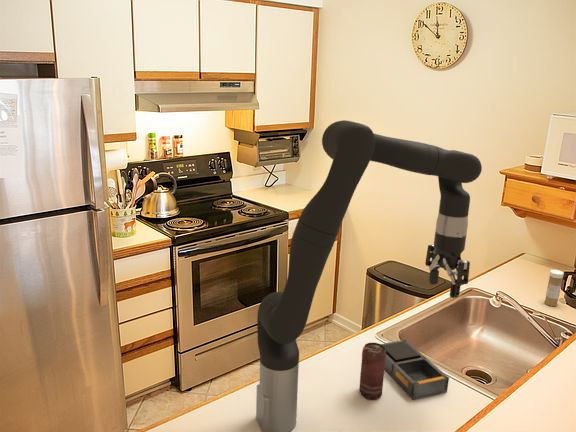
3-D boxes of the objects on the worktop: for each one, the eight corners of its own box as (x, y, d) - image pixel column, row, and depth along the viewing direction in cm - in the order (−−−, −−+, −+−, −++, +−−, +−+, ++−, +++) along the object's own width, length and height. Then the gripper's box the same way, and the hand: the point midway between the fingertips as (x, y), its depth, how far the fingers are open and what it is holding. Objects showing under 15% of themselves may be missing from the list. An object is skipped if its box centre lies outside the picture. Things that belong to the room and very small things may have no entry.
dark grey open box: (412, 400, 135) (414, 383, 133) (372, 358, 153) (373, 343, 152) (447, 392, 138) (449, 376, 137) (404, 352, 157) (405, 338, 156)
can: (354, 389, 138) (357, 343, 134) (374, 385, 141) (378, 340, 137) (365, 402, 133) (369, 355, 129) (386, 398, 135) (390, 351, 131)
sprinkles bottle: (547, 300, 198) (553, 268, 194) (559, 304, 194) (566, 272, 190) (542, 303, 195) (548, 270, 191) (554, 307, 191) (560, 274, 188)
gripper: (421, 224, 133) (415, 281, 137) (457, 241, 120) (448, 303, 124) (445, 221, 135) (438, 278, 140) (482, 238, 123) (473, 300, 127)
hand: (443, 290), depth 132 cm, fingers open, 8 cm apart
